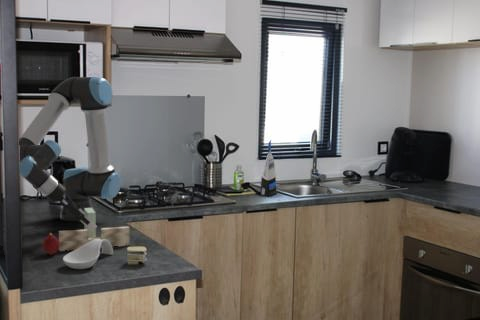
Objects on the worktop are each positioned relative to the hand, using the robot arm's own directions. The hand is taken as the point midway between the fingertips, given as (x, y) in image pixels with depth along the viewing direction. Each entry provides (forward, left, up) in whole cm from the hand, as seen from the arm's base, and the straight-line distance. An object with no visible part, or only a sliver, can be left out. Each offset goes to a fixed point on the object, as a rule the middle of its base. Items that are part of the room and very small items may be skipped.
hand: (92, 225), depth 250 cm
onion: (+22, -10, -6) cm, 25 cm away
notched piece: (0, -1, -6) cm, 6 cm away
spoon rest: (+31, +6, -7) cm, 32 cm away
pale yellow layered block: (+31, +22, -7) cm, 39 cm away
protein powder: (-111, +78, -6) cm, 136 cm away
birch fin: (+11, +3, -6) cm, 13 cm away
